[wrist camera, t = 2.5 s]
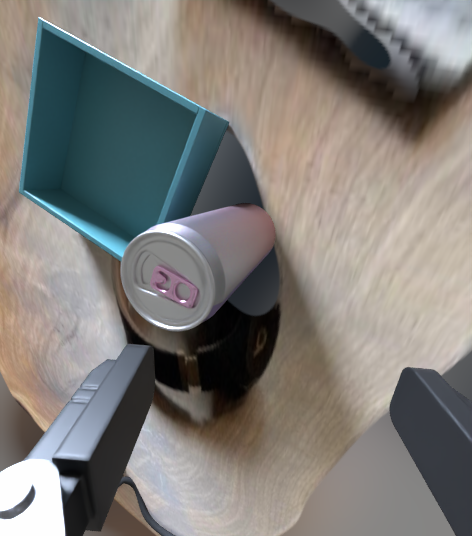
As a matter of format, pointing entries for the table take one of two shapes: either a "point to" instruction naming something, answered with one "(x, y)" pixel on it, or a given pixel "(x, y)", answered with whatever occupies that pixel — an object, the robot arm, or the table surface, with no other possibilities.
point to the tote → (110, 143)
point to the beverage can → (194, 264)
